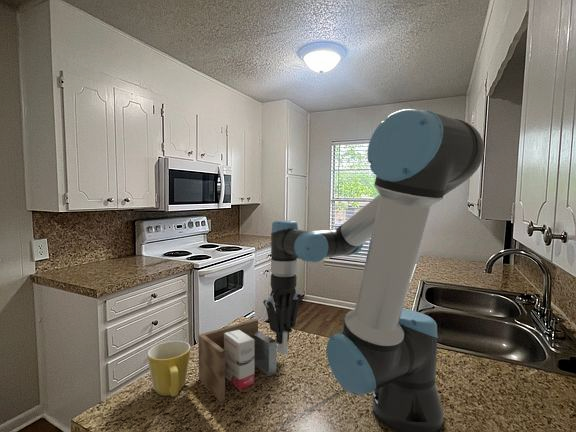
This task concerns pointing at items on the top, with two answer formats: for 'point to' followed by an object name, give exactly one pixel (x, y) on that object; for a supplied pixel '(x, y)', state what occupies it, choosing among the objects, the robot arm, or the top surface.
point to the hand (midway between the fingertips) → (282, 352)
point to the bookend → (265, 353)
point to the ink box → (239, 358)
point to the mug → (169, 366)
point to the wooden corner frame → (218, 356)
